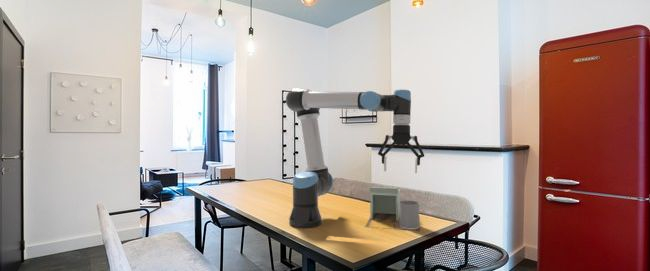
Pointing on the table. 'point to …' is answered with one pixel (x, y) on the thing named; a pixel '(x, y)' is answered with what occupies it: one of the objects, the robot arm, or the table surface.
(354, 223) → the table surface
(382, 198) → the hood
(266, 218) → the table surface
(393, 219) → the board
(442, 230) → the table surface
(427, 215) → the table surface
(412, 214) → the cup
